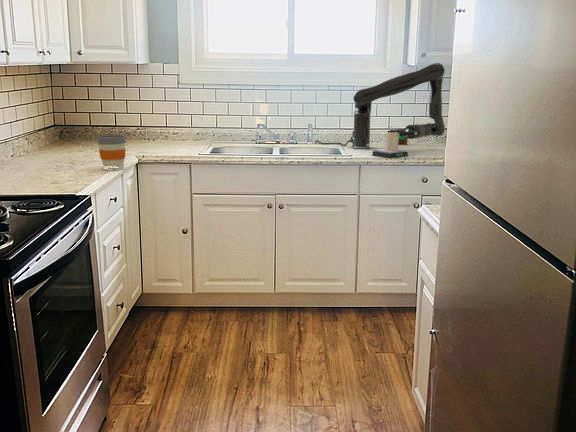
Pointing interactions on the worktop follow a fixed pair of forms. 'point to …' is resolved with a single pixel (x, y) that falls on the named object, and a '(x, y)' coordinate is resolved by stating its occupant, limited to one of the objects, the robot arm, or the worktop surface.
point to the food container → (401, 138)
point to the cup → (392, 141)
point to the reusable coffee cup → (112, 150)
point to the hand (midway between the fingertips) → (394, 133)
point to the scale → (389, 153)
